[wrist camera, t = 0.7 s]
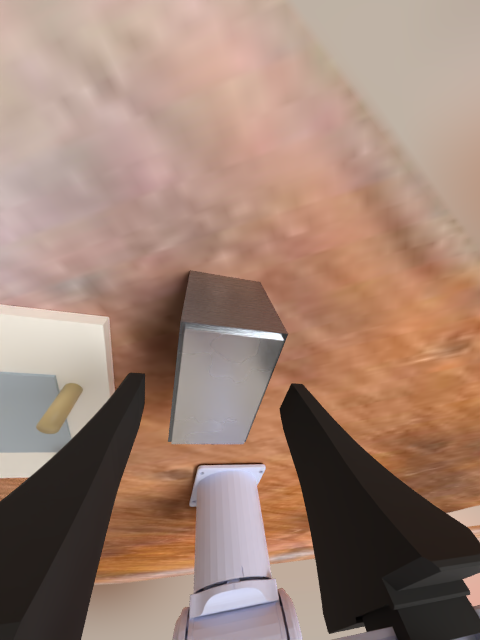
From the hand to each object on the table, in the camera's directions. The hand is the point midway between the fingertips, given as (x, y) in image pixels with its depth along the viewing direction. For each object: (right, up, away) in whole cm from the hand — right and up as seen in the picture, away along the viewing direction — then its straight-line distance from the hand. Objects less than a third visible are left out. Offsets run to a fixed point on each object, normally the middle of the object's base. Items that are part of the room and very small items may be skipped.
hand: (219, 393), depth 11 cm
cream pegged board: (-15, -3, +6) cm, 17 cm away
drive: (-1, +3, +5) cm, 6 cm away
